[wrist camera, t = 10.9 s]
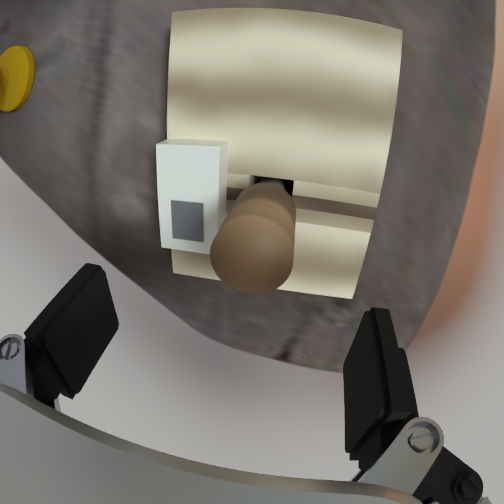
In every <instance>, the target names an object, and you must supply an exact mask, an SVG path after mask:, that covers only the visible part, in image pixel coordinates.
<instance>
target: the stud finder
mask: <svg viewBox="0 0 504 504" xmlns="http://www.w3.org/2000/svg"><path fill="white" fill-rule="evenodd" d="M228 147H229V141H223V140H206V139H181V138H169V139H167V140H165V141H162V142H160V143H158V144H156V164H157V189H158V207H159V222H160V235H161V247H162V248H169V249H176V250H183V251H190V252H197V253H204V254H210V248H211V244H212V242H213V240H214V238H215V236H216V234H217V232H218V231H219V229H220V227H221V225H222V224H223V222H224V220H225V218H226V193H227V169H228Z"/></svg>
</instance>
